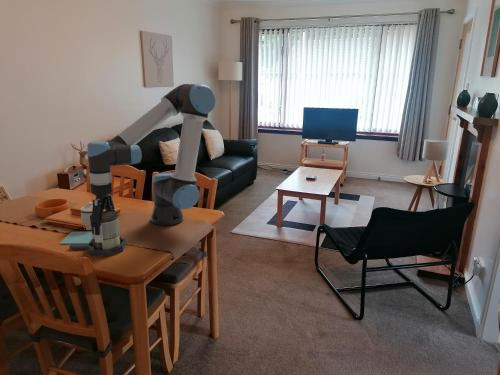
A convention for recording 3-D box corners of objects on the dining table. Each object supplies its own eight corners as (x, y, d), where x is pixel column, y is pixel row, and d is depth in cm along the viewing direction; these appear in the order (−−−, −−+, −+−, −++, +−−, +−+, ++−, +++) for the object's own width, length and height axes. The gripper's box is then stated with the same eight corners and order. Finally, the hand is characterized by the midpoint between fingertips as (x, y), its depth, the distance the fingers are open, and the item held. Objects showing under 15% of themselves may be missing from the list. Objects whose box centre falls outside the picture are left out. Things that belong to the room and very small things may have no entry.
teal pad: (100, 232, 158) (99, 231, 158) (90, 244, 146) (90, 243, 146) (71, 232, 157) (71, 231, 157) (59, 244, 145) (59, 243, 145)
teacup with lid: (95, 231, 159) (92, 206, 155) (77, 229, 160) (74, 204, 157) (111, 222, 170) (109, 198, 167) (94, 220, 172) (91, 196, 169)
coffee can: (89, 254, 138) (85, 220, 134) (98, 242, 148) (94, 210, 144) (116, 254, 138) (113, 219, 135) (123, 242, 148) (121, 210, 144)
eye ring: (128, 241, 150) (128, 235, 149) (119, 255, 137) (119, 250, 136) (77, 241, 149) (77, 235, 148) (63, 256, 136) (62, 250, 135)
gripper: (101, 174, 147) (105, 223, 153) (77, 191, 123) (83, 248, 129) (120, 175, 148) (123, 223, 153) (100, 192, 124) (104, 248, 129)
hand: (105, 235), depth 141 cm, fingers open, 13 cm apart
